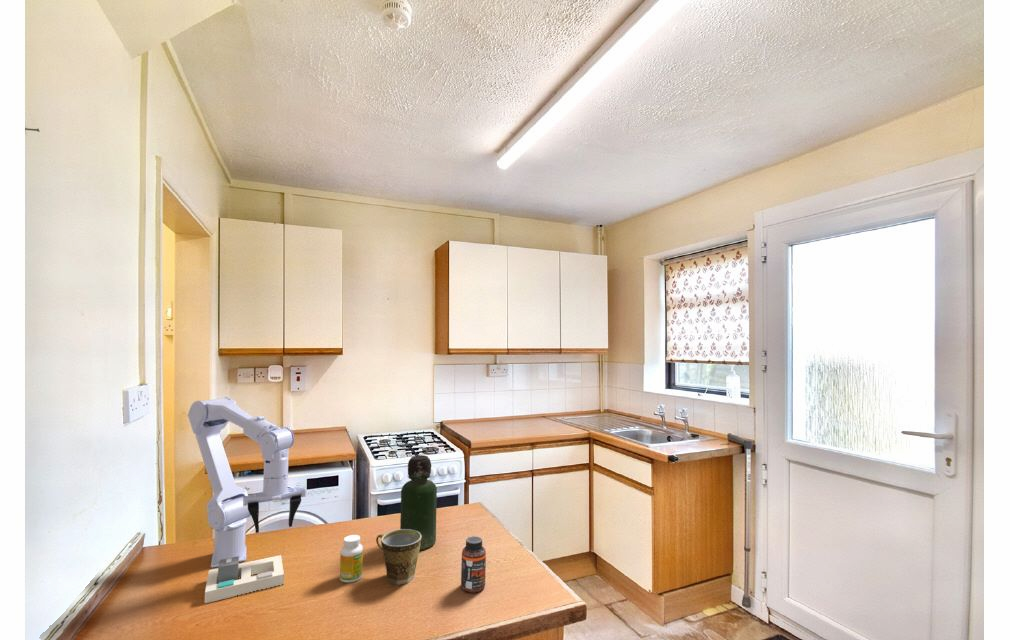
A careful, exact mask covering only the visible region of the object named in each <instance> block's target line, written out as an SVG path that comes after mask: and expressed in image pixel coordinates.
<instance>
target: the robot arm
mask: <svg viewBox="0 0 1010 640" xmlns="http://www.w3.org/2000/svg"><path fill="white" fill-rule="evenodd" d="M187 417H188V420H189V423H190V426H191V429H192V432H193V434H194V435H195V439H196V441H197V444H198V448H199V451H200V455H201V457H202V460H203V461H202V462H203V464H204V467H205V470H206V474H207V477H208V480H209V483H210V486H211V490H212V492H213V495H212V497H210V499H209V500H208V502H207V503H206V505H205V507H206V510H207V511H206V512H207V518H206V519H207V523H208V525H209V526H210V528H211V529H212V530H214V537H213V538H214V540H213V542H214V543H213V551H212V556H211V563H210V568H212V569H213V568H217V567H218V566H219V562H220V560H222V559H227V558H232V557H237V556H239V563H240V562H242V563H243V562H245V561H246V560H247V545H246V527H247V526H246V525H247V522H249V517H251V519H252V521H253V524H254V525H253V526H254V529H255V534H259V533H260V525H259V523H260V522H259V515H260V504H261V503H266V502H272V501H273V502H274V501H279V500H285V499H286V500H287V499H289V513H288V527H289V528H291V527H293V523H294V518H295V516H296V513H297V511H298V508H299V507H300V505H301V503H302V498H304V497H307V496H306V495H307V494H306V493H307V492H306V491H307V490H306V487H303V486H302V487H294V488H293V487H291V488H289V487H288V485H289V459H290V458H289V456H290V455H289V454H290V453H289V452H290V449H291V448H292V446H293V445H294V443H295V435H294V432H293V431H292V429H290V427H288V426H285V427H284V426H283V427H278V426H277V425H276V423H275V424H273V423H271V422H269V420H266V417H265V416H264V415H259V416H251V415H250V414H249V413H247V412H246V411H245V410H243V409H242V408H240V407H239V406H238V405H237V401H236V400H235V399H232V398H231V397H228V396H226V397H222V398H221V397H220V398H213V399H206V400H196V401H193V402H192V404H191V405H190V408H189V410H188V414H187ZM229 422H230V423H232V424H234V425H236V426H238V427H240V428H242V430H243V431H242V432H243V434H244V435H245V436H246V437H248V438H249V439H250V440H252V441H254V442H256V443H257V444H259V448H260V452H261V457H262V460H263V482H262V483H263V486H262V491H261V492H256V493H253V494H248V491H247V489H246V488H244V487H241V486H238V485H237V484H236V481H235V478H234V475H233V472H232V468H231V466H230V464H229V460H228V457H227V454H226V451H225V448H224V445H223V442H222V439H221V436H220V432H221V431H222V430H224V429H225V428H226V426H227V425H228V424H229Z"/></svg>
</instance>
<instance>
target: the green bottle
mask: <svg viewBox="0 0 1010 640" xmlns="http://www.w3.org/2000/svg"><path fill="white" fill-rule="evenodd" d="M431 473H432V461H431V459H430V458H429V456H428V455H423V454H421V455H413V456H411V458H410V459H409V460H408V463H407V475H408V479H409V480H408V481H406V482H405V483H404V484H403V486H402V487H401V490H400V519H399V520H400V522H399V523H400V526H399V527H400V529H411V530H415V531H418V532H419V533H420V534H421V544H420V549H419V551H421V550H425V549H428V548H431V547H432V546H434V544H435V543H436V541H437V499H438V498H437V497H438V496H437V491H438V490H437V485H436V484H435V482H433V481H432V480H430V479H429V478H430V477H431ZM400 529H399V530H400Z"/></svg>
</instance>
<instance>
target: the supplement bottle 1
mask: <svg viewBox="0 0 1010 640" xmlns="http://www.w3.org/2000/svg"><path fill="white" fill-rule="evenodd" d="M363 547H364V546H363V545H362V543H361V536H360V535H359V534H350V535H347V536H345V537H344V538H343V546H342V547H341V548H340V556H339V557H340V558H339V559H340V562H339V579H340V581H341V582H343V583H354V582H357V581H358V580H360V579H361V578H362V577H363V564H364V563H363V559H364V556H363V555H364V548H363Z"/></svg>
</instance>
